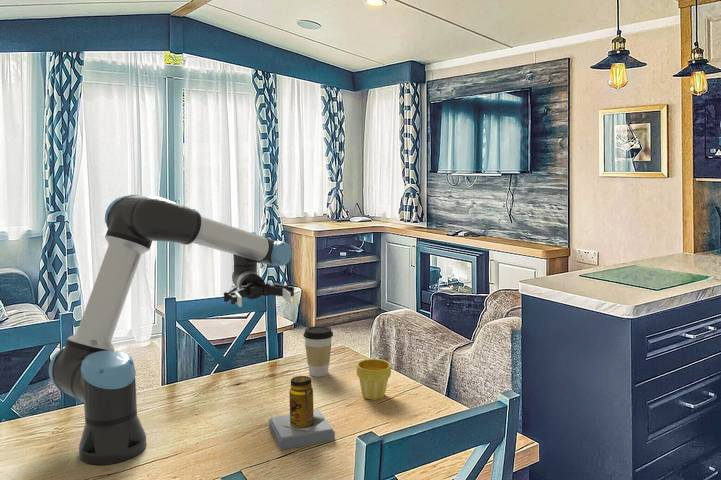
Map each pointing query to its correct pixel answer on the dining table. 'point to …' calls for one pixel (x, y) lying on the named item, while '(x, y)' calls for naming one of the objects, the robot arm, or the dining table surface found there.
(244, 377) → the dining table surface
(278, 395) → the dining table surface
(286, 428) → the grey square coaster
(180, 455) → the dining table surface
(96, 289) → the robot arm
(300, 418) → the condiment
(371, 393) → the plant pot
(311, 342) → the coffee cup
